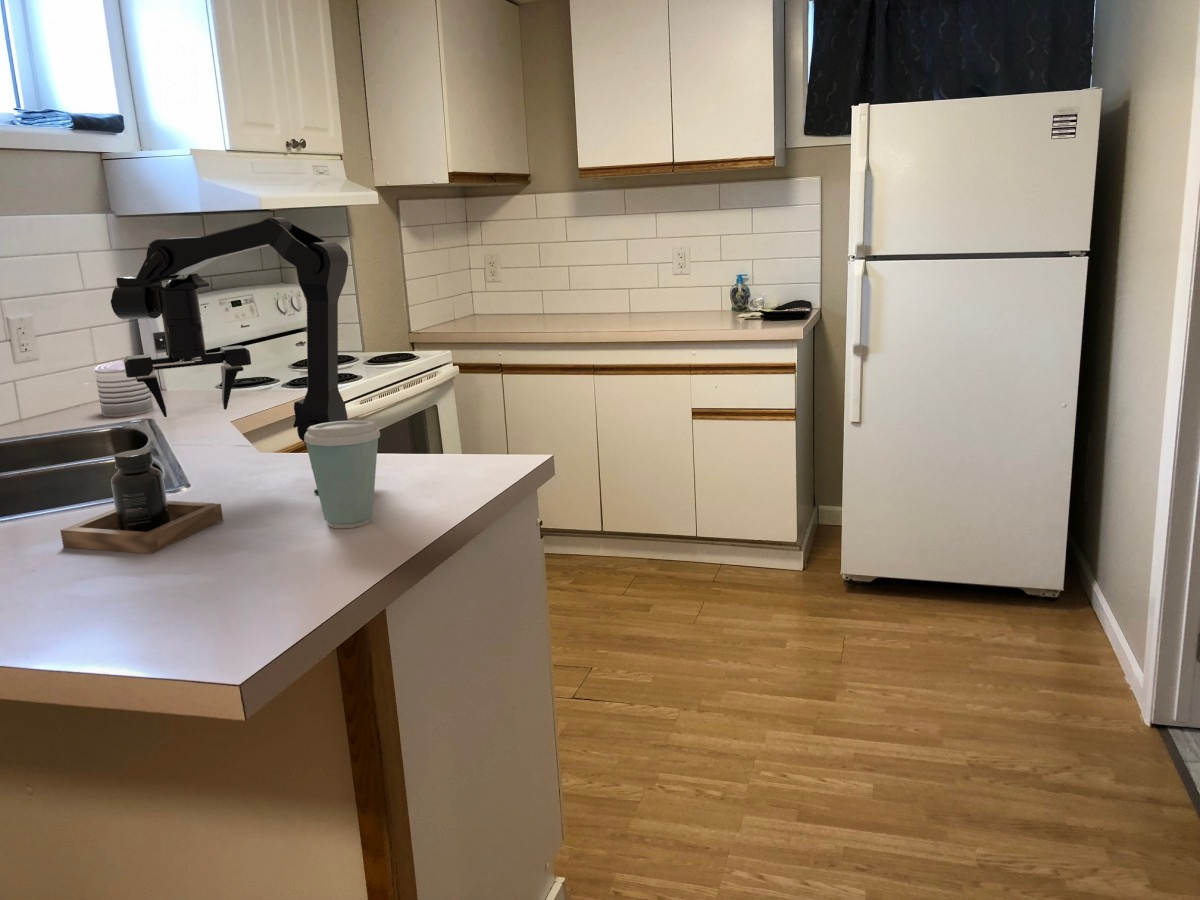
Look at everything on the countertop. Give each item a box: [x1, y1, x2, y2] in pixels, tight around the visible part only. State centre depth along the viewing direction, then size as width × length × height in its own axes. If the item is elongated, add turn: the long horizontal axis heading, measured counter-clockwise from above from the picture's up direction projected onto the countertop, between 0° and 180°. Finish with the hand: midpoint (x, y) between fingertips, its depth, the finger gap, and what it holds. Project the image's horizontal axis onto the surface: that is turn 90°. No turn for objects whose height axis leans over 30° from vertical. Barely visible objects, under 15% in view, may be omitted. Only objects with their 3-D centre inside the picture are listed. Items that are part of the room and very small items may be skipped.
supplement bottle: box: [110, 449, 171, 532], centre depth 140 cm, size 7×7×12 cm
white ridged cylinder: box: [92, 359, 154, 418], centre depth 235 cm, size 11×11×12 cm
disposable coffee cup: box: [303, 419, 381, 529], centre depth 141 cm, size 11×11×15 cm
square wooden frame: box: [59, 500, 224, 555], centre depth 141 cm, size 15×15×2 cm
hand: (195, 412), depth 161 cm, fingers open, 9 cm apart
